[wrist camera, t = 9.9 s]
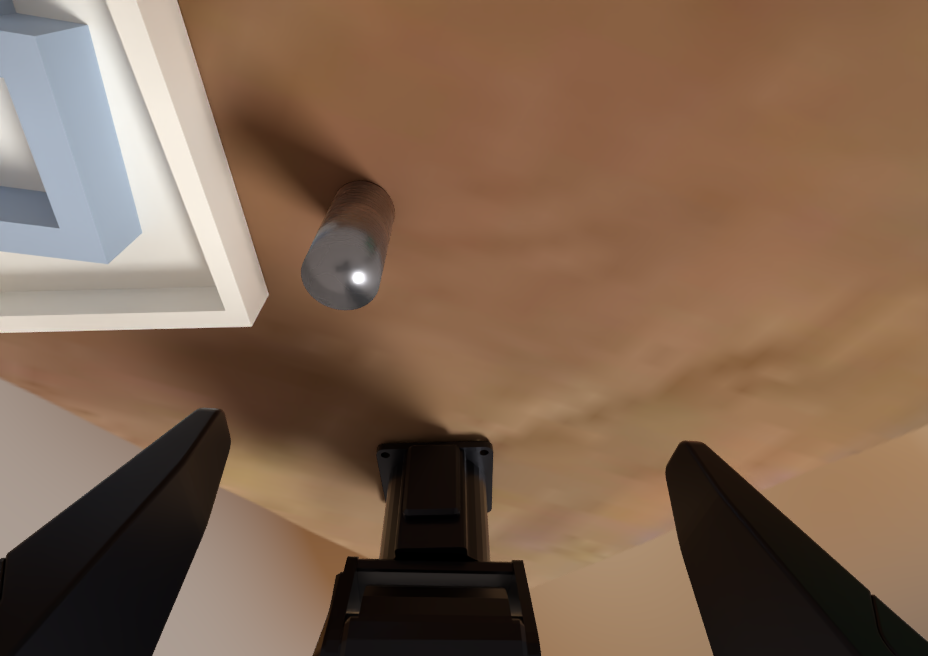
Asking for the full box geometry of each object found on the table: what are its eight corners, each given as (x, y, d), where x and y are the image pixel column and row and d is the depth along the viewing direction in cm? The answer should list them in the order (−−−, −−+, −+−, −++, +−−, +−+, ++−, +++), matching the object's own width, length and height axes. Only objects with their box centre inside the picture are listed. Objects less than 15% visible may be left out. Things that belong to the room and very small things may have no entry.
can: (397, 237, 20) (383, 309, 16) (338, 239, 20) (309, 311, 16) (391, 179, 19) (374, 243, 15) (327, 181, 19) (293, 245, 15)
